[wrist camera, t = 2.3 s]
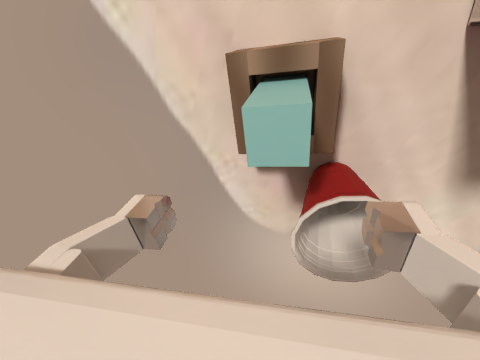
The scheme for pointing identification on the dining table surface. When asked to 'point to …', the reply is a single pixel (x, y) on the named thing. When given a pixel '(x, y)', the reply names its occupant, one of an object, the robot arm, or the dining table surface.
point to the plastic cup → (334, 226)
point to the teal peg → (278, 122)
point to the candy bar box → (475, 14)
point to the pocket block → (287, 63)
